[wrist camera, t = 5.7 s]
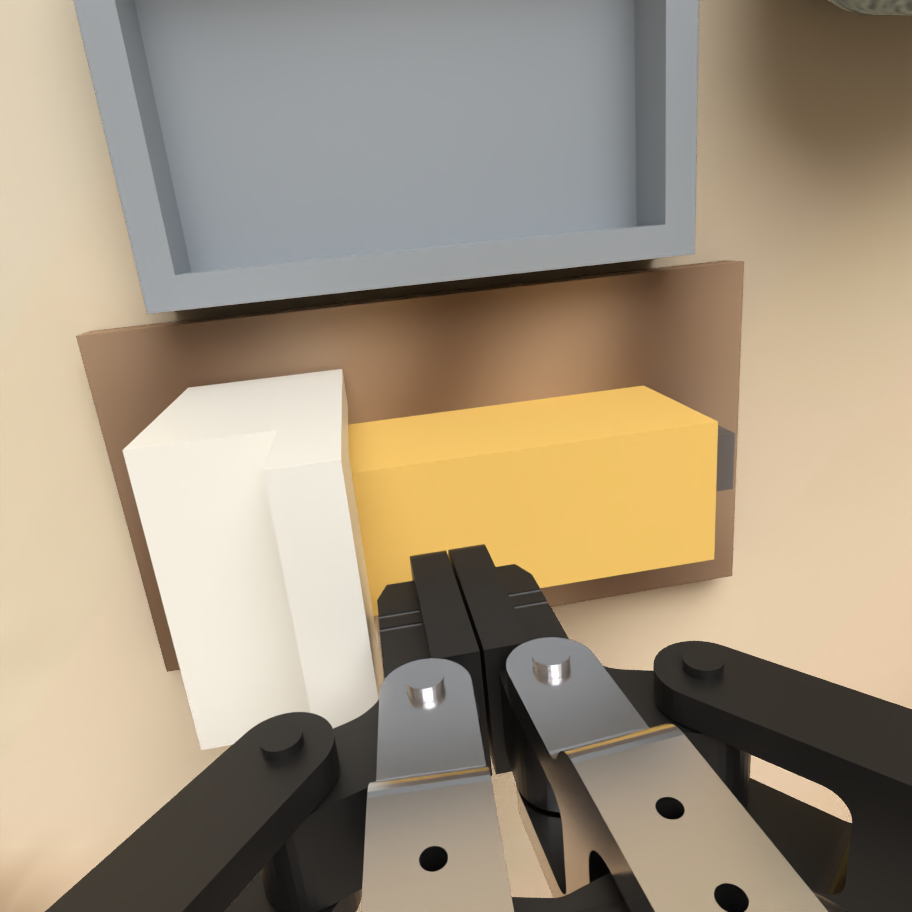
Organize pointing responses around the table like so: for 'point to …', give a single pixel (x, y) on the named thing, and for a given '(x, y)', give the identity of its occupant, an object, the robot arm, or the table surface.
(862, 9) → the streaked grey-blue ovoid
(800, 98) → the table surface
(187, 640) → the white stepped block
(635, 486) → the yellow rectangular block
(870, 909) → the robot arm
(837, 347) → the table surface
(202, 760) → the table surface
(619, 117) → the tray
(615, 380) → the clamp board
